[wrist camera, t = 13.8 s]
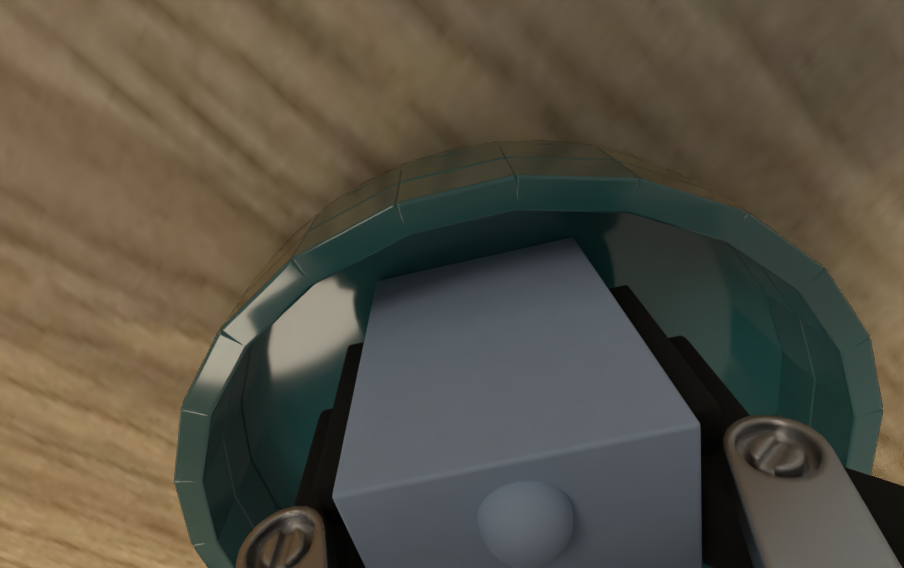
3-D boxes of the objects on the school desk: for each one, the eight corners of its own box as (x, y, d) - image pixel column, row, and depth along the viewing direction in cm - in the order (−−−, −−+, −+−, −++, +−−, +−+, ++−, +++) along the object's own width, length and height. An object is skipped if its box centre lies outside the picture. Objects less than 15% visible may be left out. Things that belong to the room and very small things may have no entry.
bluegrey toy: (375, 280, 12) (320, 540, 6) (573, 235, 11) (729, 462, 5) (425, 428, 14) (421, 737, 8) (594, 394, 13) (725, 686, 7)
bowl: (112, 229, 11) (15, 292, 9) (816, 60, 10) (950, 73, 8) (335, 626, 18) (319, 730, 15) (775, 546, 17) (839, 643, 14)
